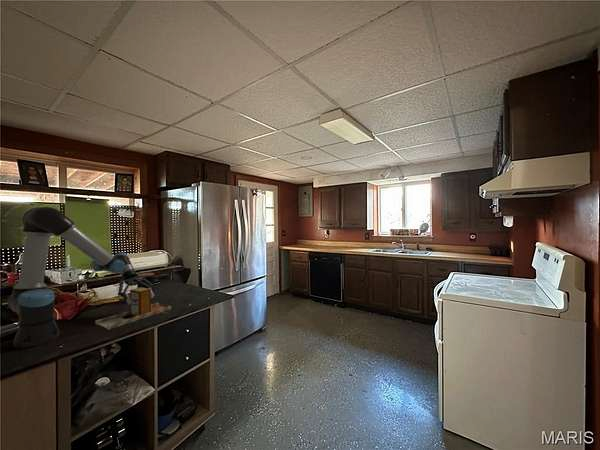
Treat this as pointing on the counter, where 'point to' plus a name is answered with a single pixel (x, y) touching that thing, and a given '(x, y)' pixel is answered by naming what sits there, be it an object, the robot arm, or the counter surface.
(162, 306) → the trap pad
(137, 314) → the baking soda box
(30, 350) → the counter surface
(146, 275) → the coffee jar
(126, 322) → the channel
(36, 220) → the robot arm
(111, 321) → the pad
